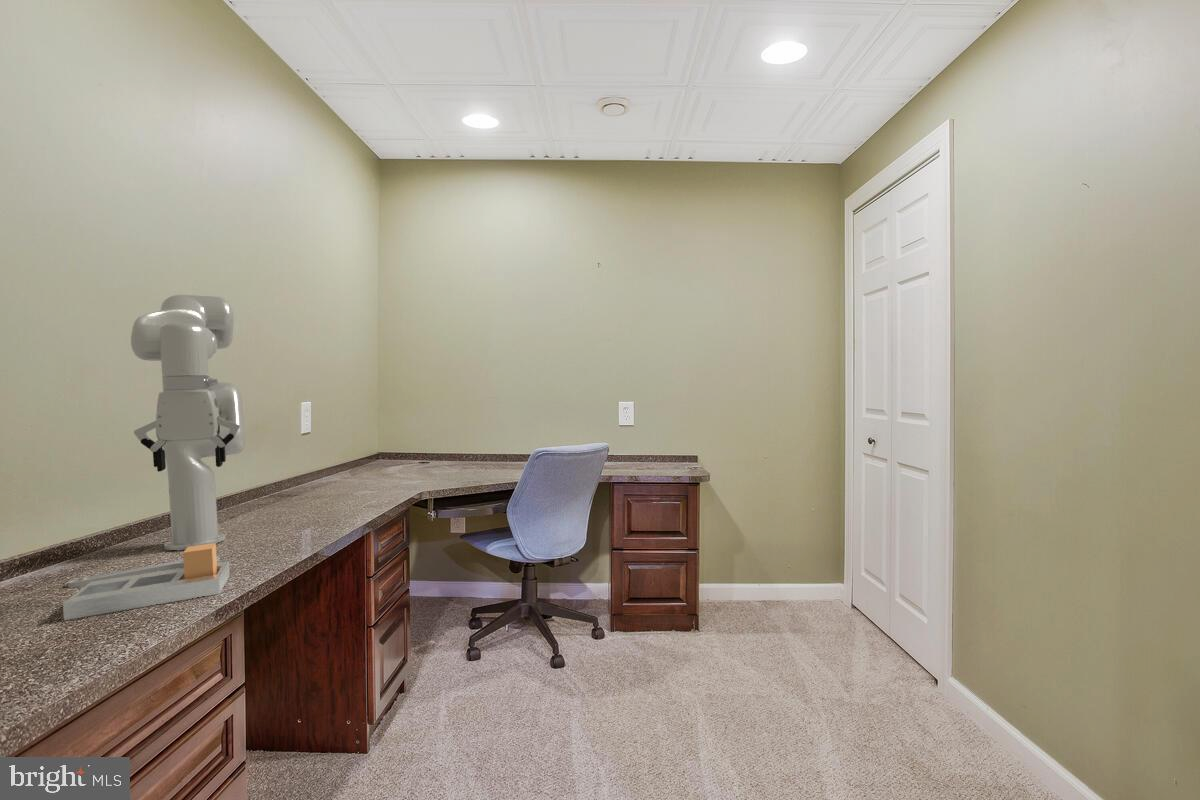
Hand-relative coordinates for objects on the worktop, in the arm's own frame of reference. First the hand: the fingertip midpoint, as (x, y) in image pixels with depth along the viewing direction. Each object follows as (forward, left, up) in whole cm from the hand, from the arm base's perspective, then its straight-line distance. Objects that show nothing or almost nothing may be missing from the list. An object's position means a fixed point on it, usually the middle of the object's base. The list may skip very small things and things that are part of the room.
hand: (191, 468), depth 111 cm
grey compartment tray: (+7, -5, -23) cm, 25 cm away
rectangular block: (+7, +2, -23) cm, 24 cm away
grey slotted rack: (-12, -11, -24) cm, 29 cm away
